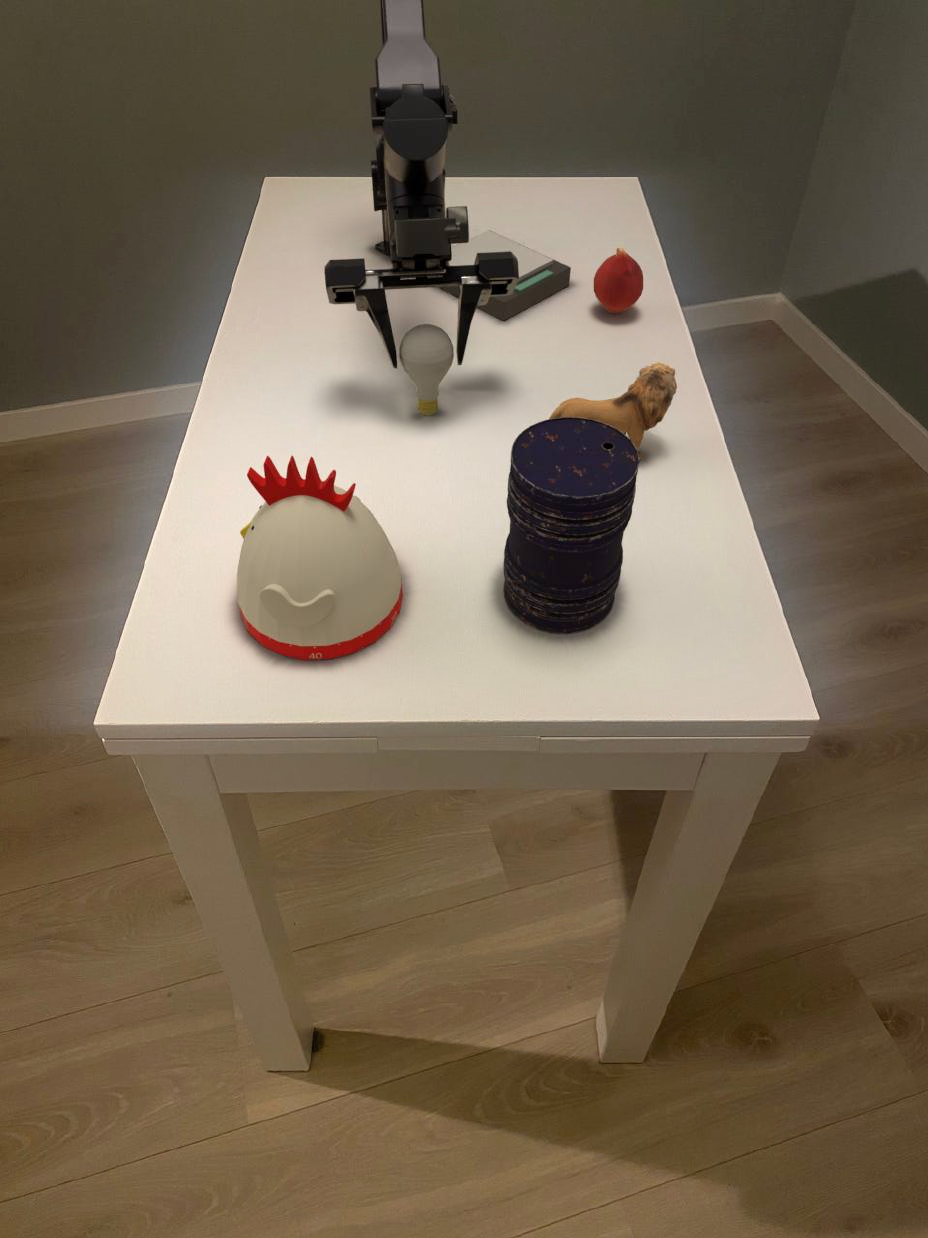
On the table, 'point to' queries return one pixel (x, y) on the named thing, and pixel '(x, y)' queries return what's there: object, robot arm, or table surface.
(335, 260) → the robot arm
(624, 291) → the onion
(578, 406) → the lion figurine
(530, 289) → the kitchen scale
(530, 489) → the rusty blue oil drum
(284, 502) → the kitchen timer
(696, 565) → the table surface
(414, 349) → the light bulb
